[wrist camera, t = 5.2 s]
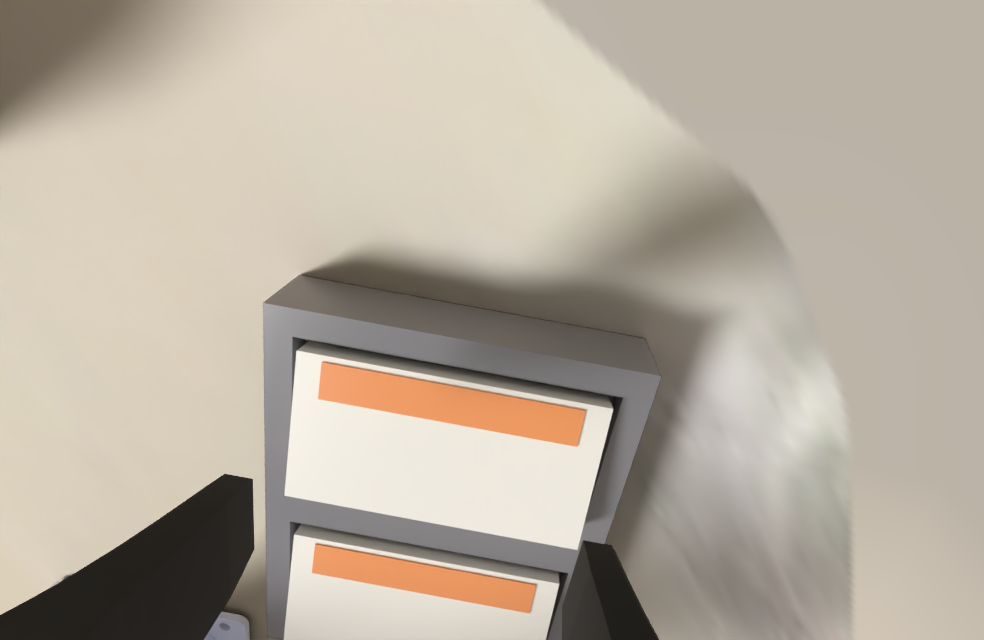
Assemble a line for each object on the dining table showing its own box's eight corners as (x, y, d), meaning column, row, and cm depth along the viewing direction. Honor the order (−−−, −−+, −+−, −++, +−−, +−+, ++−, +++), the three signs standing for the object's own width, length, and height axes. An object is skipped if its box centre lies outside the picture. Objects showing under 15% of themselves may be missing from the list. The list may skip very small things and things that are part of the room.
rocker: (297, 478, 18) (283, 496, 17) (309, 340, 17) (295, 351, 16) (574, 530, 18) (577, 551, 17) (607, 395, 17) (613, 409, 16)
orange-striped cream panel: (293, 627, 21) (282, 649, 20) (305, 517, 20) (293, 535, 19) (531, 671, 21) (532, 696, 20) (557, 564, 20) (559, 585, 19)
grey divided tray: (293, 582, 24) (266, 636, 22) (299, 275, 18) (263, 302, 16) (552, 631, 24) (554, 690, 22) (645, 338, 18) (661, 376, 16)
